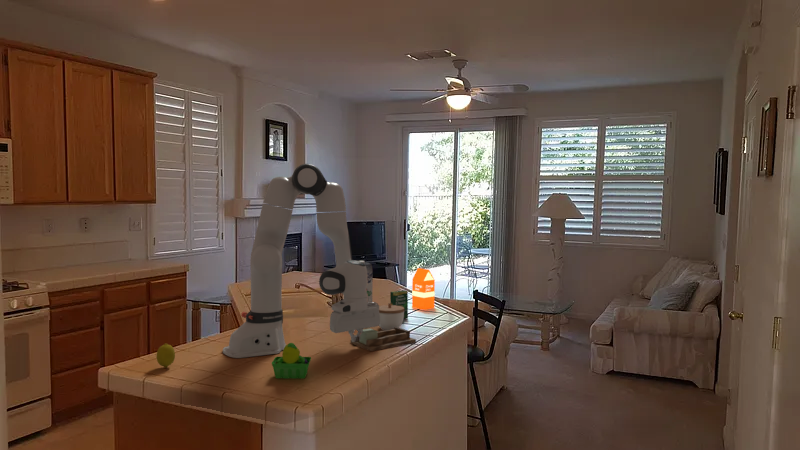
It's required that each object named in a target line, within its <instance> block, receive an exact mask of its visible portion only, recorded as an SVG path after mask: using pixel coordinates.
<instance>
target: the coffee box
mask: <svg viewBox="0 0 800 450" xmlns="http://www.w3.org/2000/svg"><path fill="white" fill-rule="evenodd" d="M408 293H409V291H408V290H406V289H403V290H396V291H390V303H391V305H397V306H402V307H404V319H403V320H407V319H409V303H408V302H409V301H408V297H409V294H408Z"/></svg>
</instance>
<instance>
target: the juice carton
mask: <svg viewBox="0 0 800 450" xmlns="http://www.w3.org/2000/svg"><path fill="white" fill-rule="evenodd" d="M359 261H360V262H362V263H364V264H365V265H366V268H367V278H368V285H367V295H368V303H372V302H373V288H374V287H373V283H374V282H373V276H374V275H373V265H372V263H369V262H368V261H365V260H359Z"/></svg>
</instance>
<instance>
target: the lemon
mask: <svg viewBox="0 0 800 450" xmlns="http://www.w3.org/2000/svg"><path fill="white" fill-rule="evenodd" d="M175 359H176V351H175V349H174V347H173V346H172V345H171V344H168V343H166V342H165V343H164V344H163V345H160V346H159V347H158V349H157V351H156V361H157V364H159V366H161V367H164V368H165V369H167V368H168V367H169V366H171V365H172V364H173V363H174V361H175Z"/></svg>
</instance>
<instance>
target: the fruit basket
mask: <svg viewBox="0 0 800 450" xmlns="http://www.w3.org/2000/svg"><path fill="white" fill-rule="evenodd" d="M300 354H301V353H300V349H299V348H298V346H296V344H295V343H293V342H289V343H288V344H286V346H285V347H284V349H283V350H282V355H281V356H275V357H274V359H273V360H272V361H271V366H272V368H273V369H272V370H273V373H274V376H275V379H292V380H293V379H299V380H301V379H302V380H303V379H305V378H306V377H307V374H308V370H309V367H310V362H311V361H312V357H311V356H303V355H300Z"/></svg>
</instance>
